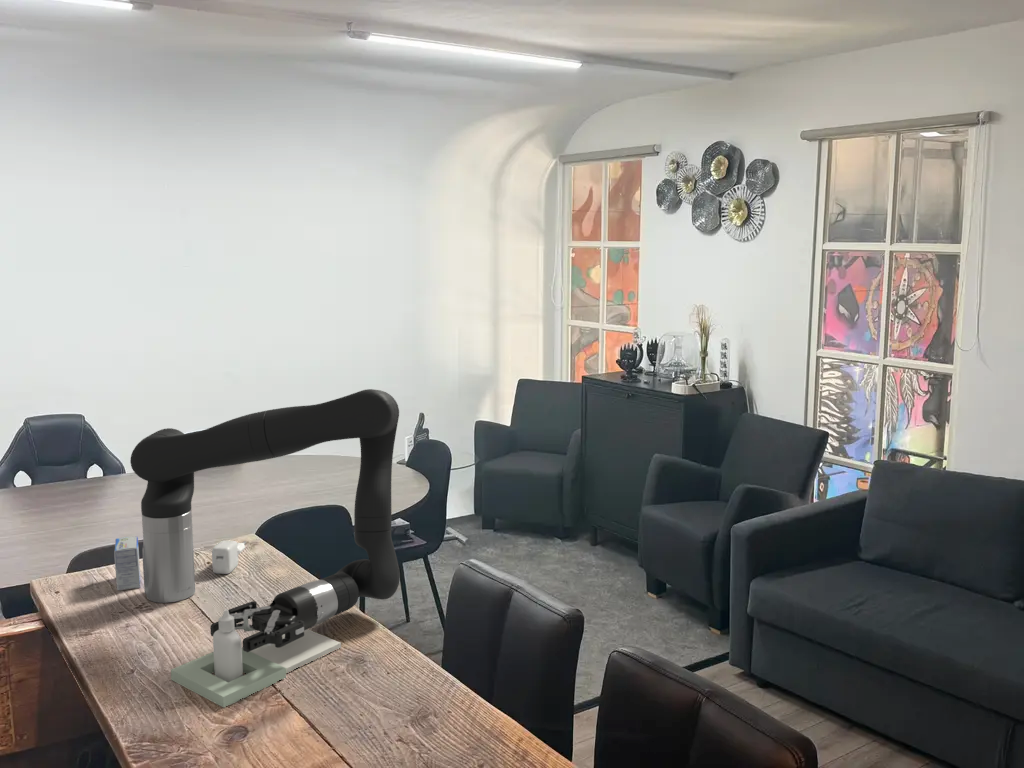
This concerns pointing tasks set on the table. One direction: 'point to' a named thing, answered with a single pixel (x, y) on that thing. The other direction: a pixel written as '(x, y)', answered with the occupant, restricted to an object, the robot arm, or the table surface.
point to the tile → (298, 650)
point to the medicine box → (127, 563)
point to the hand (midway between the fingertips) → (227, 638)
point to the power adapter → (226, 556)
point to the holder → (220, 691)
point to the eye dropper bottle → (227, 649)
